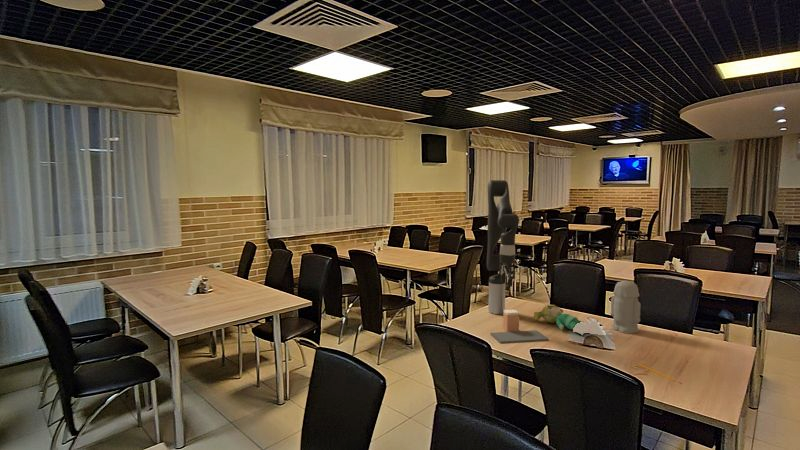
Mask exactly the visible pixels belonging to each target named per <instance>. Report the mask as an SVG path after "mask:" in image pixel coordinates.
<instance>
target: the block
mask: <svg viewBox="0 0 800 450" xmlns="http://www.w3.org/2000/svg"><path fill="white" fill-rule="evenodd" d="M502 318H503V319H502V321H503V322H502V323H503V324H502V330H503V329H504V330H505V331H504V330H503V331H504V332H514V331H520V329H519V328H520V327H519V326H520V312H519V311H517V310H516V309H505V310H504V312H503V317H502Z"/></svg>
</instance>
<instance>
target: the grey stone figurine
mask: <svg viewBox="0 0 800 450" xmlns="http://www.w3.org/2000/svg"><path fill="white" fill-rule="evenodd" d="M612 294H613V295H612V297H611V298H610V299H611V305H610V316H612V317H613V324H611V330H613V331H616V332H619V333H621V334H622V333H623V334H631V335H632V334H635V333H639V326H638V325H639V323H640V322H641V305H642V304H641V302H640V301H639V298H638V297H640V293H639V288H638V285H637V284H636V283H634V282H632V281H629V280H621V281H617V282H616V284H615V286H614V290H613V293H612Z"/></svg>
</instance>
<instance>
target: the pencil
mask: <svg viewBox="0 0 800 450" xmlns="http://www.w3.org/2000/svg"><path fill="white" fill-rule="evenodd" d="M635 364H636V365H638V366H640V367H642V368H644V369H646V370H649V371H651V372H653V373H656V374H658V375H660V376H662V377H664V376H665V377H664V378H667V379H669V378H670V379H669V380H671V379H673V380H676V381H678V382H681V381H679V380H677V379H675V378H673V377H670V376H668V375H666V374H664V373H662V372H659V371H657V370H654V369H652V368H650V367H648V366H645V365H643V364H640V363H638V362H636V363H635ZM673 380H672V381H673ZM676 381H675V382H676ZM678 382H677V383H678Z"/></svg>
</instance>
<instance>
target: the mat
mask: <svg viewBox="0 0 800 450" xmlns="http://www.w3.org/2000/svg"><path fill="white" fill-rule="evenodd" d="M490 336H491V337H492V338H493V339H495V340H496V341H497V343H499V344H510V343H512V344H513V343H524V342H525V343H526V342H527V343H528V342H543V341H549V337H548V336H545V335H544V334H543V333H542V332H540V331H538V330H536V329H533V330H519V331H514V332H506V331H500V332H499V331H497V332H496V331H495V332H490Z"/></svg>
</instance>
